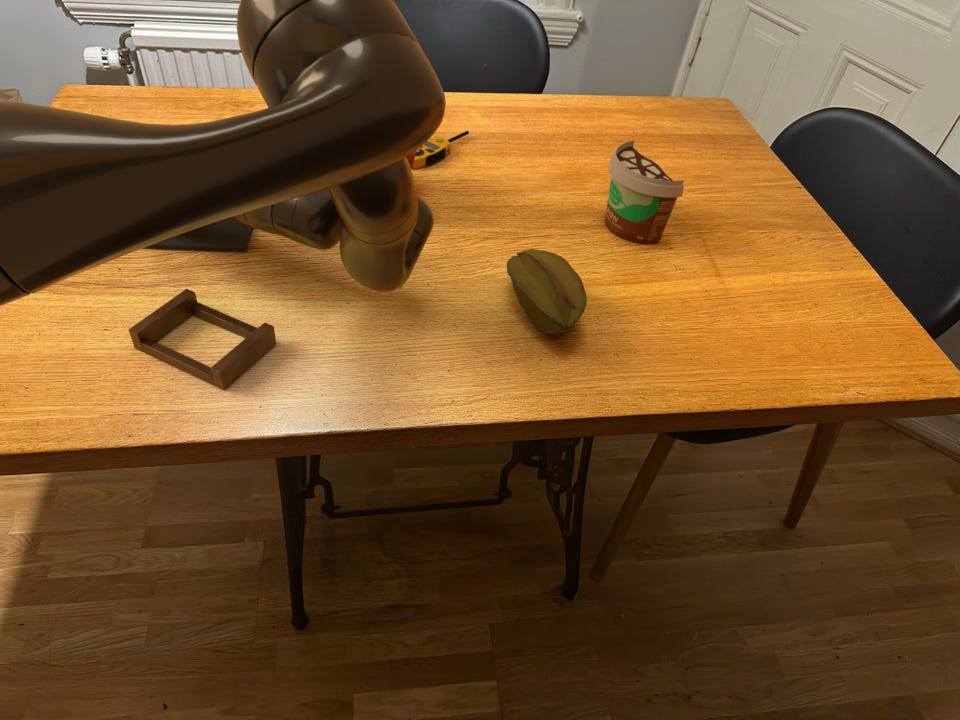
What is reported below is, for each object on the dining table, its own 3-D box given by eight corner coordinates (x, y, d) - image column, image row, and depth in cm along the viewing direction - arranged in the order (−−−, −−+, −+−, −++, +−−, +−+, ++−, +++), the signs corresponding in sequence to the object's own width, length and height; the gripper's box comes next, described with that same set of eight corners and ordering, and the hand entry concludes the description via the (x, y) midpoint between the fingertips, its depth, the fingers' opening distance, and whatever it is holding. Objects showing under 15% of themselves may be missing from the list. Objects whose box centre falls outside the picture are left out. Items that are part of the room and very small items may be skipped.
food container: (579, 209, 99) (593, 143, 93) (615, 202, 102) (631, 138, 95) (627, 257, 92) (646, 189, 85) (665, 249, 94) (686, 182, 87)
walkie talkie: (393, 149, 103) (457, 120, 113) (393, 161, 105) (456, 131, 114) (418, 161, 101) (480, 130, 111) (417, 173, 103) (479, 141, 112)
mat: (54, 245, 82) (53, 240, 82) (109, 163, 97) (107, 159, 96) (245, 252, 85) (245, 248, 84) (271, 171, 99) (270, 167, 99)
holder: (224, 390, 68) (220, 372, 66) (134, 347, 71) (128, 329, 69) (276, 343, 73) (274, 326, 72) (191, 306, 77) (186, 288, 75)
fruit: (601, 302, 84) (613, 257, 79) (565, 360, 76) (576, 314, 71) (515, 271, 87) (522, 226, 82) (472, 324, 79) (477, 277, 74)
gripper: (296, 135, 78) (177, 96, 82) (205, 189, 68) (76, 141, 73) (302, 195, 83) (190, 155, 87) (218, 253, 73) (97, 204, 78)
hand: (139, 149), depth 80 cm, fingers closed on tape roll, 4 cm apart
